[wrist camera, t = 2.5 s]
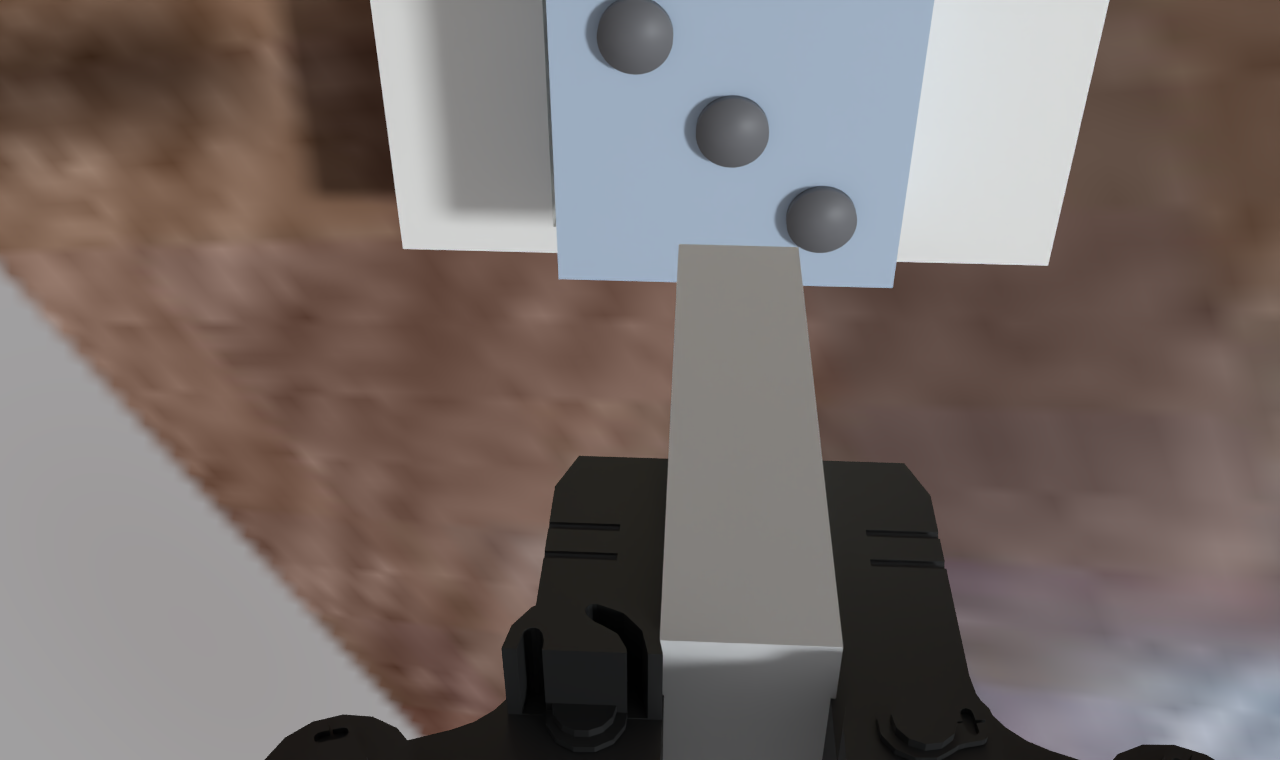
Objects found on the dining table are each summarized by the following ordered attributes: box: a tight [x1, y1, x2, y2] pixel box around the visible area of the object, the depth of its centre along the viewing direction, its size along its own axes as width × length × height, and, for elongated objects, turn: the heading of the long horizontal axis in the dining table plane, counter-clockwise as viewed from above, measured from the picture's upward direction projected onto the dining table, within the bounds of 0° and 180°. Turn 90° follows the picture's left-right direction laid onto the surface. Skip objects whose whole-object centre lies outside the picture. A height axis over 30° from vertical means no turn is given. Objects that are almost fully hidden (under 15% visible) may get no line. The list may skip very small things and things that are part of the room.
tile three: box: [546, 0, 934, 288], centre depth 21 cm, size 6×6×3 cm
